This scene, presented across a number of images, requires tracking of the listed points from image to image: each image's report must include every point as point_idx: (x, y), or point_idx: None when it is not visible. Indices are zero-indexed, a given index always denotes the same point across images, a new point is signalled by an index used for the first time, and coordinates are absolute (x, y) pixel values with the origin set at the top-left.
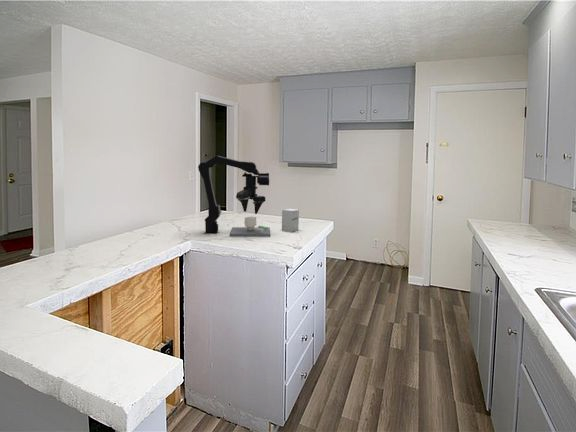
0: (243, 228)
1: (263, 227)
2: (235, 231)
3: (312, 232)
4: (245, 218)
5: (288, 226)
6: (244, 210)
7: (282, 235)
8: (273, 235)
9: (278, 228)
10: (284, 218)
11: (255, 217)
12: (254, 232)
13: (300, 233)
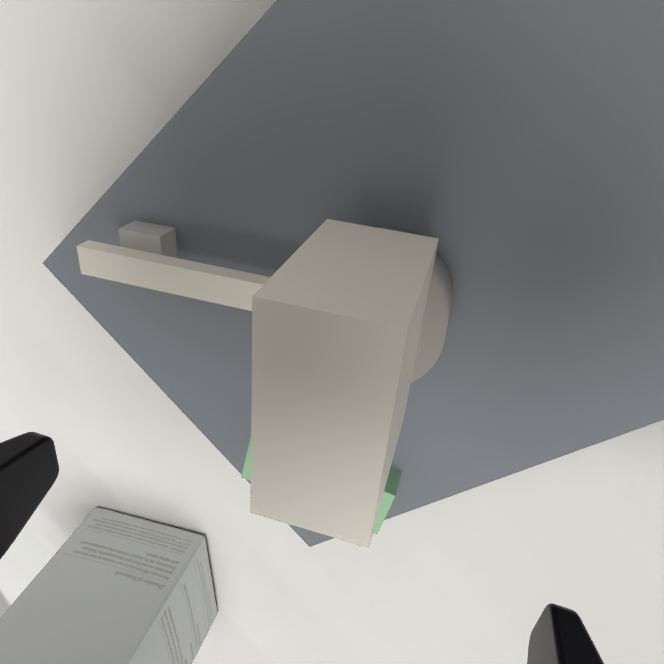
0: (588, 349)
1: None
2: (585, 33)
3: (6, 558)
4: (383, 311)
5: (89, 558)
6: (556, 642)
7: (45, 369)
8: (96, 321)
9: (293, 596)
10: (83, 656)
11: (255, 487)
12: (240, 206)
13: None
